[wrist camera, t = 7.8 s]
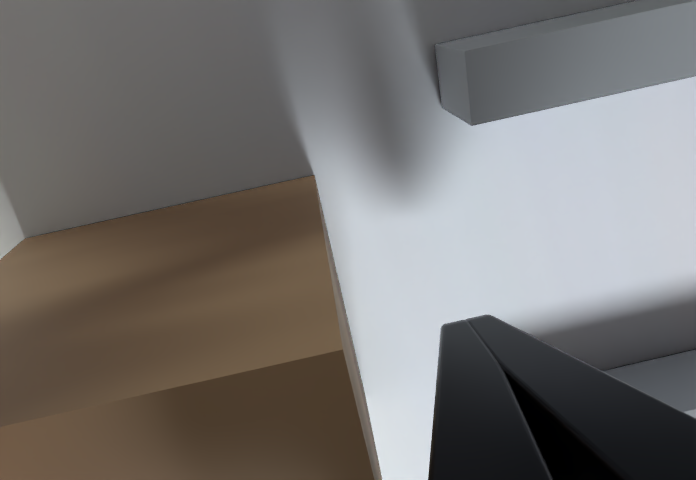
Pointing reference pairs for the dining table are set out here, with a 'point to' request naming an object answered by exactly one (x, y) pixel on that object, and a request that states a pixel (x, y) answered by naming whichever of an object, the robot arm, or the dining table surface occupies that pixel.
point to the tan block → (183, 347)
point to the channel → (579, 100)
